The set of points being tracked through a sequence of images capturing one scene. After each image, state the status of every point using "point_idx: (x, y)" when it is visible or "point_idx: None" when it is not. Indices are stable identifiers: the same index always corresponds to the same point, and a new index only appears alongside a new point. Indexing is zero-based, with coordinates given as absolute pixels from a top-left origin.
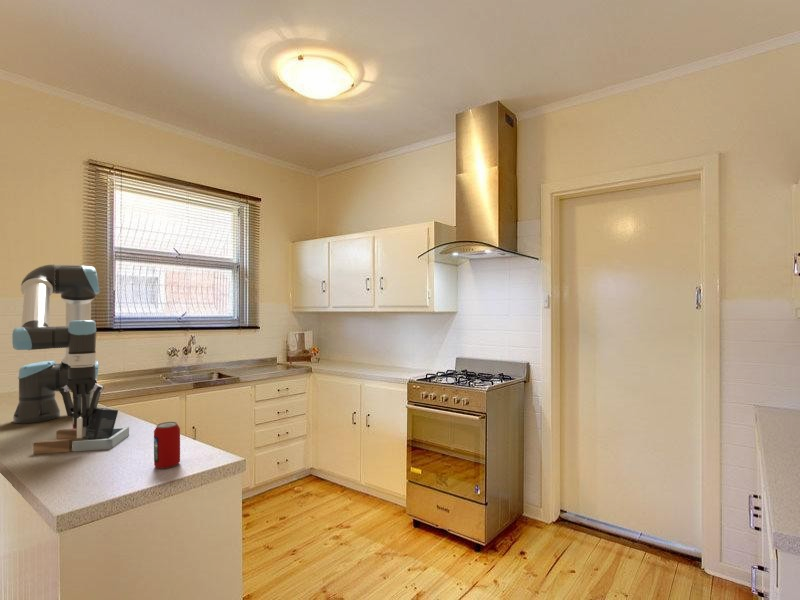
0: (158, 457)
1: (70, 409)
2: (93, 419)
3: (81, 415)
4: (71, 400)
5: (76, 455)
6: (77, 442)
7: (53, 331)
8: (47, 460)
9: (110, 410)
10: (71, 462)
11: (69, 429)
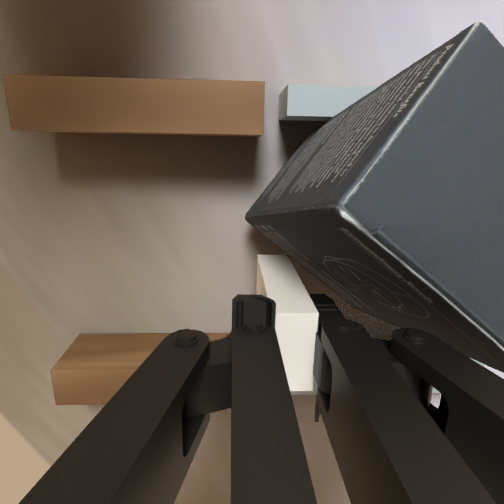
0: None
1: (189, 457)
2: (377, 292)
3: (267, 298)
4: (123, 499)
5: (316, 422)
6: (300, 392)
7: None
8: (216, 462)
9: None
10: (334, 500)
11: (93, 93)
